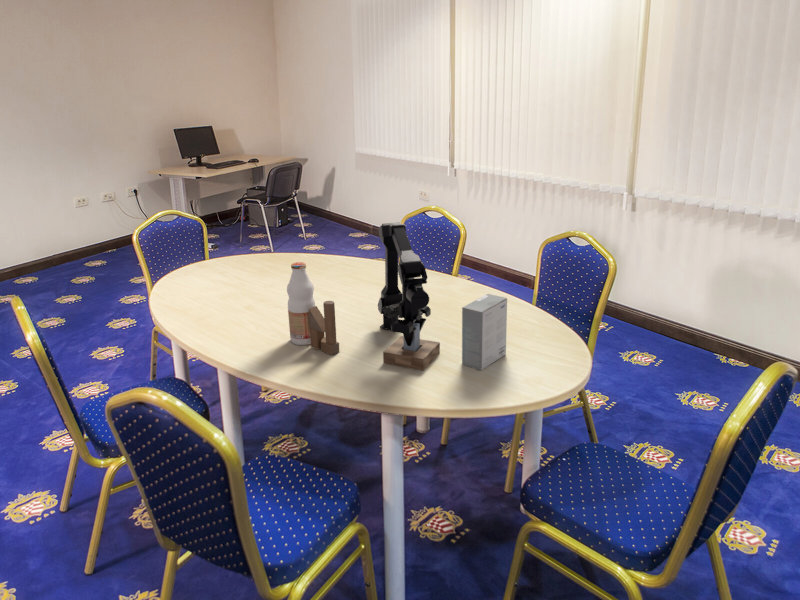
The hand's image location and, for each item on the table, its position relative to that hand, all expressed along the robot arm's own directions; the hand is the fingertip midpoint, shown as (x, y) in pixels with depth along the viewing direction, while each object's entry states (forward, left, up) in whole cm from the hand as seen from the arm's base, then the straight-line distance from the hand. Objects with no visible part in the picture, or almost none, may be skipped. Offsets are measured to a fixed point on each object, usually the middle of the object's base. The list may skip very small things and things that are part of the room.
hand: (411, 343), depth 205 cm
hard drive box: (-8, +22, -6) cm, 24 cm away
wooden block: (+5, -30, -6) cm, 31 cm away
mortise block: (0, 0, -5) cm, 5 cm away
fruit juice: (+1, -41, -6) cm, 41 cm away
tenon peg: (0, 0, -2) cm, 2 cm away
